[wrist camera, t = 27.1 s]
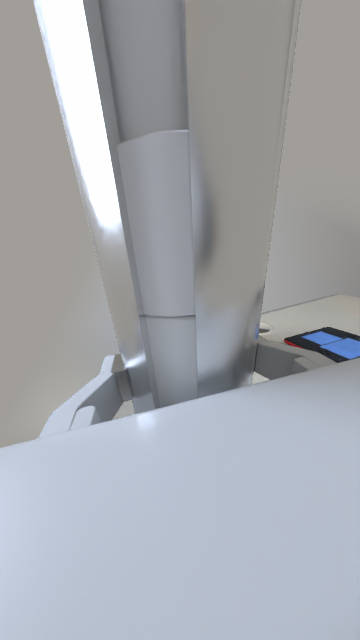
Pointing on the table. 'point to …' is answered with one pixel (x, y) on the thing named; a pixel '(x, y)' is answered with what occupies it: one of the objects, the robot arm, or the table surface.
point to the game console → (328, 343)
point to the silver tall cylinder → (177, 174)
